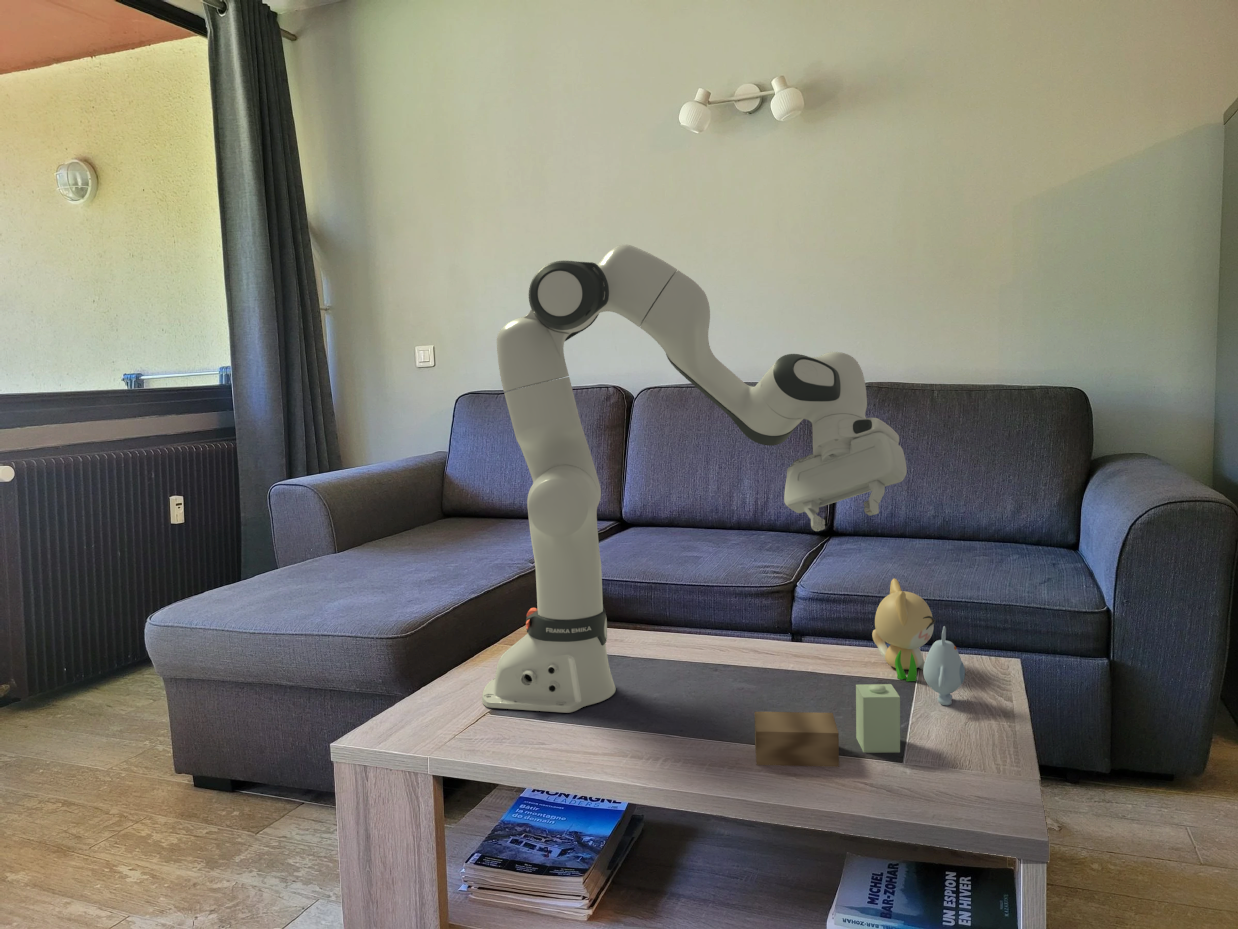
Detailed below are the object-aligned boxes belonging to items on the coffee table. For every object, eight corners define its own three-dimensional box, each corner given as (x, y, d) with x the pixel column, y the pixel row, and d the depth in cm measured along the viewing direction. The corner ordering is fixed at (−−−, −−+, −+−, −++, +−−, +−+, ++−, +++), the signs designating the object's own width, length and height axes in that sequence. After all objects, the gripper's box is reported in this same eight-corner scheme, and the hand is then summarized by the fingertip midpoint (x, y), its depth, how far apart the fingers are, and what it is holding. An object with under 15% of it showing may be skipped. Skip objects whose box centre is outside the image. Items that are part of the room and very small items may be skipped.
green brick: (863, 752, 123) (863, 694, 122) (856, 737, 128) (855, 681, 127) (900, 752, 123) (899, 693, 122) (891, 737, 128) (891, 680, 127)
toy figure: (963, 716, 135) (963, 639, 133) (920, 711, 137) (920, 636, 136) (966, 692, 144) (966, 620, 143) (926, 688, 147) (926, 617, 145)
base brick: (756, 766, 121) (755, 731, 120) (755, 745, 128) (754, 711, 127) (838, 768, 119) (838, 733, 119) (832, 746, 126) (832, 712, 126)
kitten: (942, 683, 148) (942, 596, 147) (880, 682, 150) (880, 596, 149) (927, 655, 163) (927, 575, 161) (871, 654, 165) (870, 575, 163)
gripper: (776, 455, 146) (776, 531, 139) (886, 414, 133) (892, 495, 126) (798, 470, 150) (799, 544, 143) (908, 432, 137) (915, 511, 130)
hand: (844, 521), depth 135 cm, fingers open, 8 cm apart
